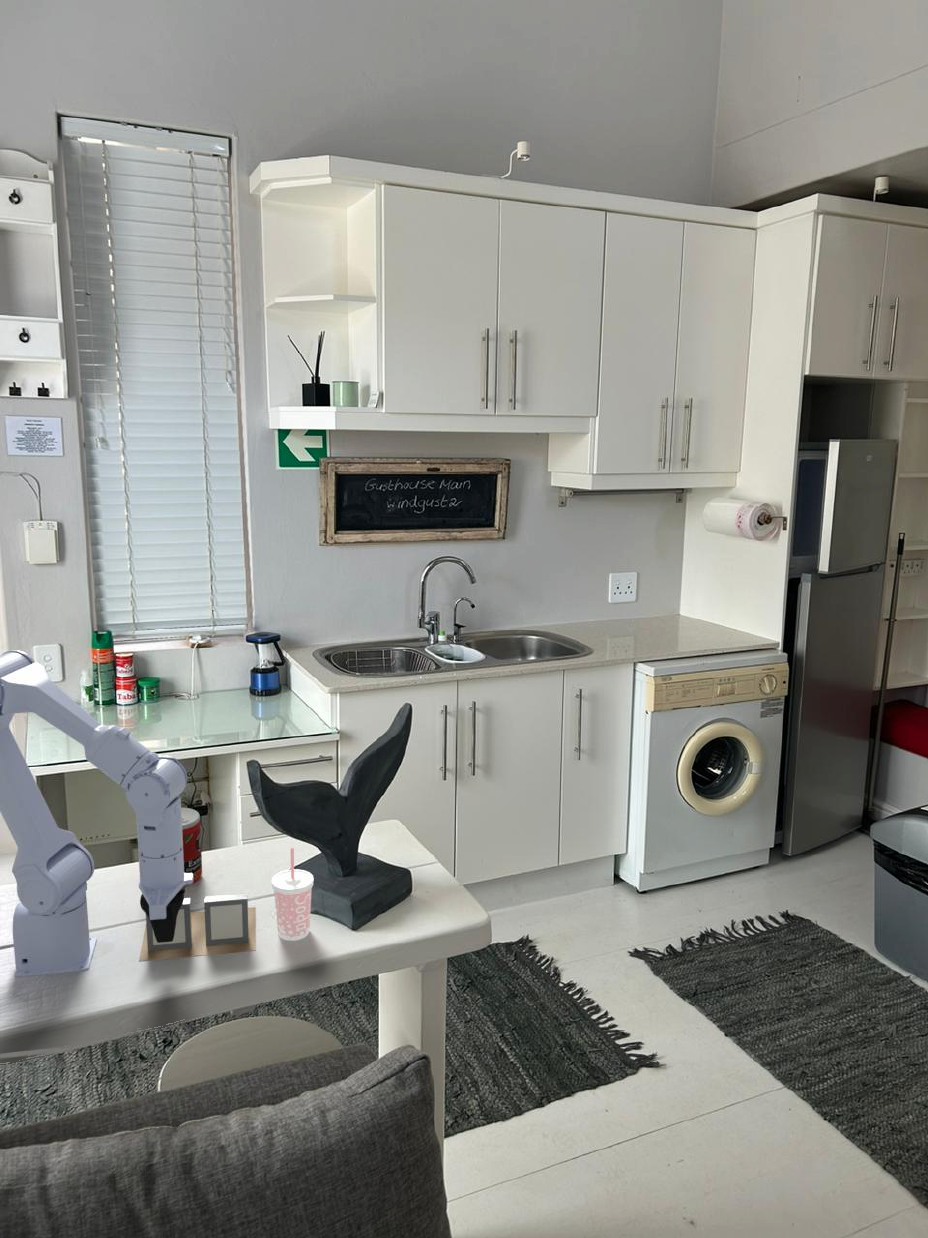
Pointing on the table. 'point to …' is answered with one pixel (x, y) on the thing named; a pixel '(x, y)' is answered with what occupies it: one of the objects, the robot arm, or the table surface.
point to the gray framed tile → (226, 919)
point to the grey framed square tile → (181, 931)
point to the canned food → (191, 843)
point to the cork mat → (202, 941)
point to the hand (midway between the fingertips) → (165, 939)
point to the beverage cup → (293, 901)
